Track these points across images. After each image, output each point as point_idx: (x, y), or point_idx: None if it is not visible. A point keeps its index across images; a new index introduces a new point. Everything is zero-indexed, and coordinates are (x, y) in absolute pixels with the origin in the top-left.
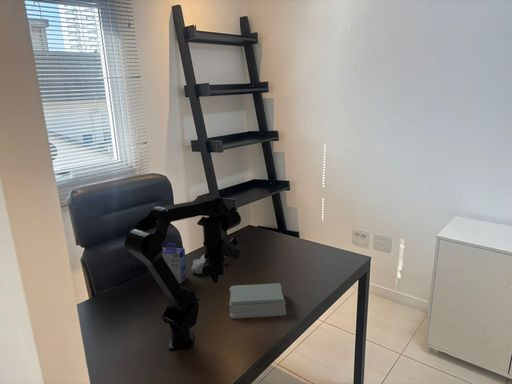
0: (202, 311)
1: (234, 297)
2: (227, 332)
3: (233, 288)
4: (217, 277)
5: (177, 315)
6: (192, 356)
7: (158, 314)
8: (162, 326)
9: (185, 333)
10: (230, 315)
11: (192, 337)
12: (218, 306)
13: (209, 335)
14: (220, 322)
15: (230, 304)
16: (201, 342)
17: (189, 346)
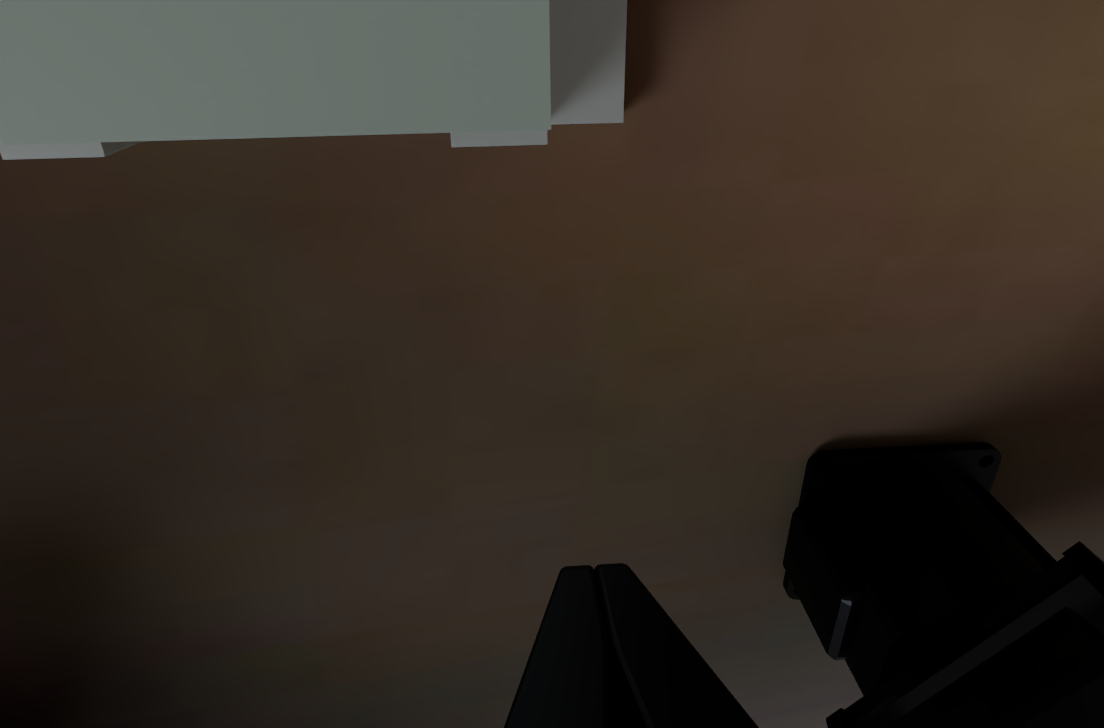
0: (451, 421)
1: (410, 67)
2: (869, 139)
3: (91, 92)
4: (725, 703)
5: (892, 718)
6: (1085, 420)
7: (486, 709)
8: None
9: (1043, 568)
10: (613, 114)
11: (882, 458)
12: (348, 269)
13: (862, 319)
14: (671, 226)
15: (523, 131)
16: (939, 375)
17: (974, 460)
